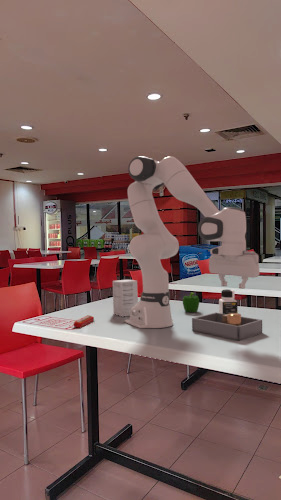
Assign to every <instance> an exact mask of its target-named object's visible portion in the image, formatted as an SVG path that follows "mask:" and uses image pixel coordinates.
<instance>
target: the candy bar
mask: <svg viewBox="0 0 281 500" xmlns="http://www.w3.org/2000/svg"><path fill="white" fill-rule="evenodd" d="M94 318H95V317H94V316H92V315H87V314H86V315H85V316H82V317H81V318H79V319H76V320H75V321H74V323H72V324H73V326H74V327H75V328H77V329H79V328H80V327H81V328H83V327H85V326H87V325H89V324H91V323H92V322H94V320H95V319H94ZM90 322H91V323H90ZM88 323H89V324H88ZM81 328H80V329H81Z"/></svg>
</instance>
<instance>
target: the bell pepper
mask: <svg viewBox="0 0 281 500" xmlns="http://www.w3.org/2000/svg"><path fill="white" fill-rule="evenodd" d="M182 304H183V305H182V306H183V310H184V311H185V312H186V313H197V311H198V310H199V305H200V298H199V296H198V295H195V293H194V292H192V291H191V292H190V294H189V295H183V298H182Z"/></svg>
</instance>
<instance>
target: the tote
mask: <svg viewBox="0 0 281 500" xmlns="http://www.w3.org/2000/svg"><path fill="white" fill-rule="evenodd" d="M223 315H227V314H222V313H219V312H212V313H209V314H205V315H200V316H195V317H191V331H193V332H197V333H202V334H206V335H211V336H215V337H220V338H223V339H229V340H234V341H239V342H240V341H243V340H246V339H248V338H249V339H250V338H251V337H254V336H257V335H260V334H262V333H263V319H258V318H253V317H247V316H246V317H245V316H241V325H240V326H235V325H229V324H224V323H223V320H222V316H223Z"/></svg>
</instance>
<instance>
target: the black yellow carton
mask: <svg viewBox="0 0 281 500" xmlns="http://www.w3.org/2000/svg"><path fill="white" fill-rule="evenodd" d="M220 295H221V298H219V300H218V313H222V314H230V313H238V312H239V310H238V301H237V300H236V299H235V291H234V290H233V289H227V288H226V289H223V290H221V294H220ZM238 314H239V313H238Z"/></svg>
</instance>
